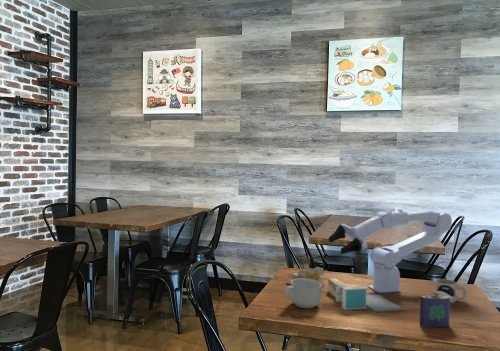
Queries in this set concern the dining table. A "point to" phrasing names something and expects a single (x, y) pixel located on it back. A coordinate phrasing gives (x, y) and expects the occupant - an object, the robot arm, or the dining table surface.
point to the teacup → (304, 292)
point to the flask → (434, 310)
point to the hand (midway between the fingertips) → (335, 245)
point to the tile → (354, 297)
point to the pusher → (336, 288)
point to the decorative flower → (309, 274)
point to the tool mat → (380, 304)
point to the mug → (449, 289)
